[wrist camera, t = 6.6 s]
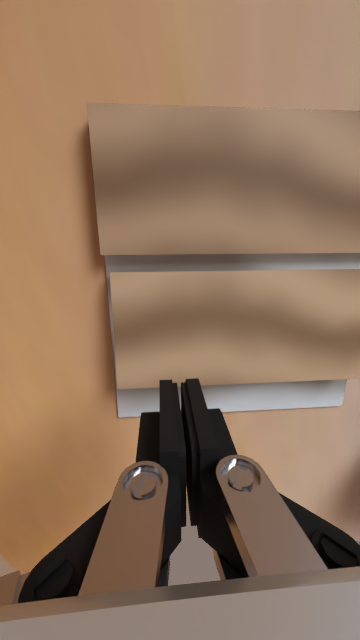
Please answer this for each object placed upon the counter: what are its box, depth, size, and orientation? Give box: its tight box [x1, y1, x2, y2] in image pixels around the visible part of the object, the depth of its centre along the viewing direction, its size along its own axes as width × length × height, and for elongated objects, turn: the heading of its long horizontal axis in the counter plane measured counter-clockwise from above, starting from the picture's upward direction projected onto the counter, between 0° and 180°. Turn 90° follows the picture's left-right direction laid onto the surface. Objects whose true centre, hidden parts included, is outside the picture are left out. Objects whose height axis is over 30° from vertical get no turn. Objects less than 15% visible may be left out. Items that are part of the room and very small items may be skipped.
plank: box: [110, 269, 360, 389], centre depth 18 cm, size 8×18×1 cm, turn 90°
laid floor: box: [87, 103, 360, 418], centre depth 18 cm, size 21×19×1 cm
